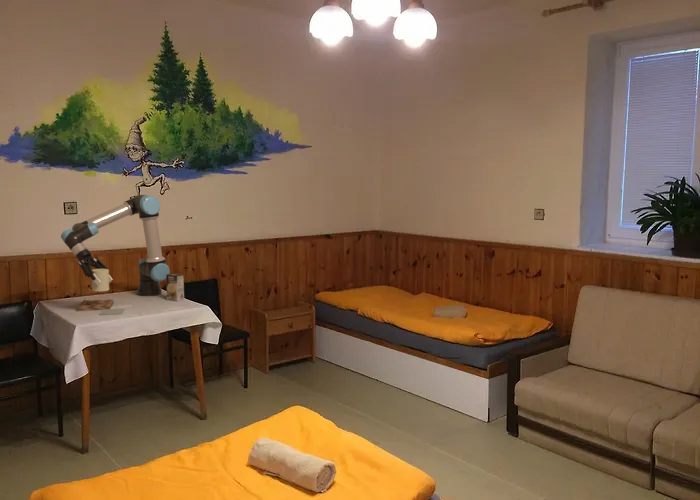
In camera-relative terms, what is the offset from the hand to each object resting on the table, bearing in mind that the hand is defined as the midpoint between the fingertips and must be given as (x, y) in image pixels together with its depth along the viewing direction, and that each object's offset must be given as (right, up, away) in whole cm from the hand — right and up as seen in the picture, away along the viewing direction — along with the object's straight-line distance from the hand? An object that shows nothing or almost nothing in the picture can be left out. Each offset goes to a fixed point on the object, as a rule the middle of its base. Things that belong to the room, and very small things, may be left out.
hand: (105, 282), depth 349 cm
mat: (+4, -17, -1) cm, 17 cm away
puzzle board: (-10, -15, +12) cm, 22 cm away
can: (-3, -5, +2) cm, 6 cm away
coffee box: (+30, -13, +34) cm, 47 cm away
